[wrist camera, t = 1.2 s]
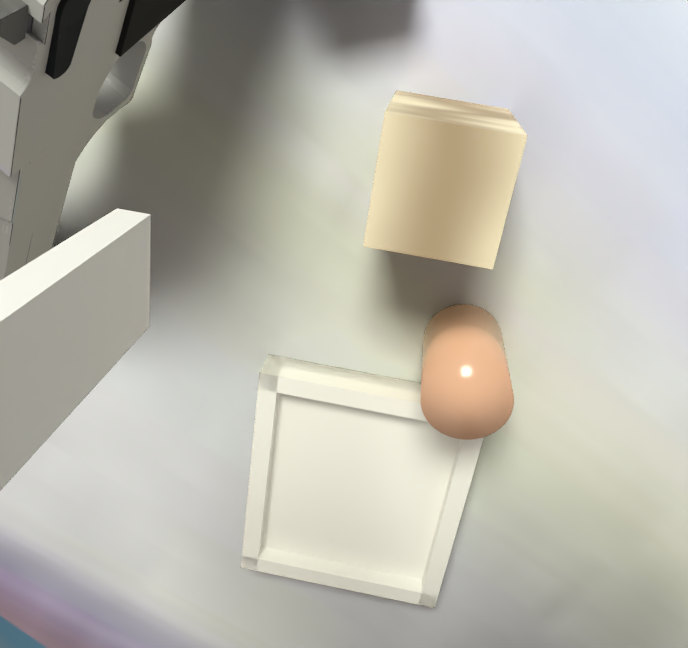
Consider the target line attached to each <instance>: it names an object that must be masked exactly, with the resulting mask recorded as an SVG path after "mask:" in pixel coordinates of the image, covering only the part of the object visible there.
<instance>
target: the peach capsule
mask: <svg viewBox="0 0 688 648" xmlns="http://www.w3.org/2000/svg"><path fill="white" fill-rule="evenodd" d="M513 405H514V396H513V390H512V385H511V380H510V374H509V369H508V364H507V359H506V353H505V348H504V343H503V337H502V332H501V329H500V326H499V324H498V322H497V321H496V319H495V318H494V317H493V316H492V315H491V314H490V313H489V312H487V311H486V310H484V309H482V308H480V307H477V306H473V305H467V304H459V305H453V306H449V307H447V308H444V309H443V310H441V311H439V312H438V313H436V314H435V315H434V316H433V317H432V318H431V320H430V321H429V323H428V324H427V326H426V329H425V332H424V340H423V359H422V379H421V408H422V412H423V414H424V416H425V418H426V419H427V421H428V422H429V423H430V425H431V426H432V427H434V428H435V429H436V430H437V431H439V432H440V433H442V434H444V435H446V436H449V437H452V438H456V439H463V440H471V439H478V438H482V437H486V436H488V435H490V434H492V433H494V432H496V431H497V430H498V429H500V428H501V427H502V426H503V425H504V424H505V423H506V422H507V420H508V419H509V417H510V415H511V413H512V410H513Z"/></svg>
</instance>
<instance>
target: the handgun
mask: <svg viewBox="0 0 688 648" xmlns="http://www.w3.org/2000/svg"><path fill="white" fill-rule="evenodd" d="M184 1H185V0H0V280H2V279H4V278H5V277H7V276H8V275H10V274H12V273H13V272H15V271H17V270H18V269H20V268H21V267H23V266H25V265H26V264H28V263H29V262H31V261H33V260H34V259H36V258H38V257H39V256H41V255H42V254H44V253H46V252H47V251H49V250H50V249H52V245H53V241H54V238H55V234H56V230H57V227H58V223H59V219H60V216H61V212H62V208H63V205H64V201H65V198H66V194H67V190H68V187H69V183H70V179H71V176H72V172H73V168H74V165H75V162H76V160H77V158H78V157H79V155H80V153H81V152H82V150H83V149H84V147H85V146H86V145H87V143H88V142H89V140H90V139H91V138H92V136H93V135H94V134H95V133H96V132H97V130H98V129H99V128H100V127H101V126H102V125H103V124H104V122H105V121H106V120H107V119H109V118H110V117H111V116H112V115H113V114H114V113H116V112H117V111H118V110H119V109H120V108H122V107H123V106H125V105H126V104H128V103H129V102H130V101H131V100H132V98H133V95H134V92H135V89H136V86H137V84H138V81H139V78H140V75H141V72H142V70H143V67H144V64H145V61H146V58H147V56H148V53H149V50H150V47H151V43H152V36H153V34H154V32H155V30H156V28H157V27H158V25H159V24H160V22H161V21H163V20H164V19H165V18H166V17H167V16H168V15H169V14H171V13H172V12H173V11H174V10H175V9H176V8H177V7H179V6H180V5H181V4H182V3H183V2H184Z"/></svg>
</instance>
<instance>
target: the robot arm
mask: <svg viewBox="0 0 688 648" xmlns="http://www.w3.org/2000/svg"><path fill="white" fill-rule="evenodd" d="M150 244H151V214H146V213H140V212H135V211H129V210H123V209H118V208H117V209H115V210H113V211H112V212H110V213H109V214H107V215H105V216H104V217H102V218H101V219H99V220H97V221H96V222H94V223H92V224H91V225H89V226H88V227H86V228H84V229H83V230H81V231H80V232H78V233H76V234H75V235H73V236H71V237H70V238H68V239H67V240H65V241H63V242H62V243H60V244H59V245H57V246H55V247H54V248H52V249H50V250H49V251H47V252H46V253H44V254H42V255H41V256H39V257H38V258H36V259H34V260H33V261H31V262H29V263H28V264H26V265H25V266H23V267H21V268H20V269H18V270H17V271H15V272H13V273H12V274H10V275H8V276H7V277H5V278H4V279H2V280H0V491H1V490H2V489H3V487H4V486H5V485H6V484H7V483H8V482H9V481H10V480H11V479H12V478H13V476H14V475H15V474H16V473H17V472H18V471H19V470H20V469H21V468H22V467H23V465H24V464H25V463H26V462H27V461H28V460H29V459H30V458H31V457H32V455H33V454H34V453H35V452H36V451H37V450H38V449H39V448H40V447H41V446H42V444H43V443H44V442H45V441H46V440H47V439H48V438H49V437H50V436H51V435H52V433H53V432H54V431H55V430H56V429H57V428H58V427H59V426H60V425H61V424H62V422H63V421H64V420H65V419H66V418H67V417H68V416H69V415H70V414H71V413H72V411H73V410H74V409H75V408H76V407H77V406H78V405H79V404H80V403H81V401H82V400H83V399H84V398H85V397H86V396H87V395H88V394H89V393H90V392H91V390H92V389H93V388H94V387H95V386H96V385H97V384H98V383H99V382H100V381H101V379H102V378H103V377H104V376H105V375H106V374H107V373H108V372H109V371H110V370H111V368H112V367H113V366H114V365H115V364H116V363H117V362H118V361H119V360H120V359H121V357H122V356H123V355H124V354H125V353H126V352H127V351H128V350H129V349H130V347H131V346H132V345H133V344H134V343H135V342H136V341H137V340H138V339H139V338H140V336H141V335H142V334H143V333H144V332H145V331H146V330H147V329H148V328H149V327H150Z"/></svg>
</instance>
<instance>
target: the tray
mask: <svg viewBox="0 0 688 648" xmlns="http://www.w3.org/2000/svg"><path fill="white" fill-rule="evenodd" d="M483 439H484V437H482V438H478V439H471V440H463V439H456V438H452V437H449V436H446V435H444V434H442V433H440V432H439V431H437V430H436V429H435V428H434V427H432V426H431V425H430V423H429V422H428V421H427V419H426V418H425V416H424V414H423V412H422V408H421V383H416V382H411V381H406V380H400V379H395V378H390V377H385V376H379V375H374V374H369V373H363V372H358V371H353V370H348V369H342V368H337V367H332V366H327V365H321V364H316V363H311V362H305V361H300V360H295V359H290V358H284V357H279V356H274V355H268V357H267V359H266V361H265V363H264V365H263V367H262V369H261V371H260V373H259V384H258V394H257V404H256V415H255V425H254V435H253V446H252V456H251V466H250V477H249V487H248V497H247V508H246V518H245V529H244V539H243V549H242V560H241V568H245V569H250V570H255V571H259V572H264V573H269V574H274V575H279V576H283V577H288V578H293V579H298V580H303V581H307V582H312V583H317V584H322V585H327V586H331V587H336V588H341V589H346V590H351V591H355V592H360V593H365V594H370V595H375V596H379V597H384V598H389V599H394V600H399V601H403V602H408V603H413V604H418V605H423V606H427V607H432V608H435V605H436V602H437V598H438V595H439V591H440V588H441V584H442V581H443V577H444V574H445V570H446V567H447V564H448V560H449V557H450V553H451V550H452V546H453V543H454V539H455V536H456V532H457V529H458V525H459V522H460V518H461V515H462V512H463V508H464V505H465V501H466V498H467V494H468V491H469V487H470V484H471V480H472V477H473V473H474V470H475V466H476V463H477V460H478V456H479V453H480V449H481V446H482V442H483Z"/></svg>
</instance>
